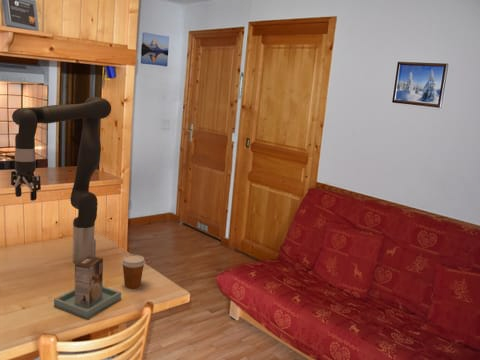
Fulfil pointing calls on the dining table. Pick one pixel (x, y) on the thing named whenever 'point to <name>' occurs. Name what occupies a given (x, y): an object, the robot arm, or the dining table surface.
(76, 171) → the robot arm
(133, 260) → the disposable coffee cup
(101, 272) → the coffee box
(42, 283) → the dining table surface
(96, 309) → the tray
